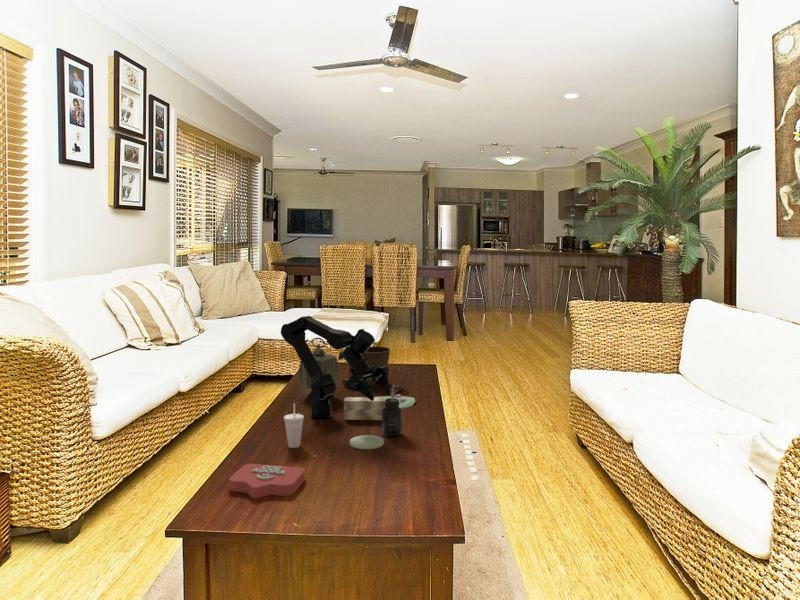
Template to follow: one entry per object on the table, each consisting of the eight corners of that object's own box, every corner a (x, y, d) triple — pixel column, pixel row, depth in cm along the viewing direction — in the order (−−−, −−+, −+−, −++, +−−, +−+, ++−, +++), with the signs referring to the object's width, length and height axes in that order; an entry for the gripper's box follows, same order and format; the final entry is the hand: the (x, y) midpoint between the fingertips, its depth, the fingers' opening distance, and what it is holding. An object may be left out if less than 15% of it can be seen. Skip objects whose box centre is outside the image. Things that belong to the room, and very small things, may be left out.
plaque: (220, 482, 148) (245, 461, 162) (221, 497, 148) (246, 474, 163) (287, 488, 145) (306, 465, 159) (287, 503, 145) (306, 479, 160)
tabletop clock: (338, 396, 241) (338, 338, 239) (324, 401, 234) (324, 341, 231) (312, 391, 249) (311, 334, 247) (297, 396, 242) (297, 337, 239)
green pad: (348, 449, 181) (348, 446, 181) (351, 437, 192) (351, 435, 192) (383, 449, 181) (383, 447, 181) (384, 437, 192) (384, 435, 192)
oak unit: (343, 419, 211) (343, 400, 210) (345, 415, 216) (345, 396, 216) (387, 420, 211) (387, 401, 210) (387, 415, 216) (388, 397, 216)
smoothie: (287, 450, 180) (286, 407, 178) (281, 444, 185) (281, 401, 184) (307, 447, 182) (306, 404, 181) (300, 441, 188) (300, 399, 187)
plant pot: (353, 386, 258) (353, 351, 256) (361, 379, 273) (361, 345, 271) (386, 388, 256) (386, 353, 254) (392, 380, 270) (392, 347, 269)
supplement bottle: (405, 432, 197) (405, 398, 196) (396, 439, 191) (397, 403, 190) (387, 429, 200) (387, 396, 199) (378, 435, 194) (378, 401, 193)
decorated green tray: (352, 410, 224) (352, 388, 223) (355, 396, 244) (355, 375, 243) (416, 410, 224) (416, 388, 224) (413, 396, 245) (414, 375, 244)
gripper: (360, 370, 214) (384, 404, 208) (326, 380, 198) (351, 417, 193) (377, 352, 208) (402, 386, 203) (343, 360, 193) (369, 397, 188)
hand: (381, 397), depth 197 cm, fingers open, 9 cm apart
